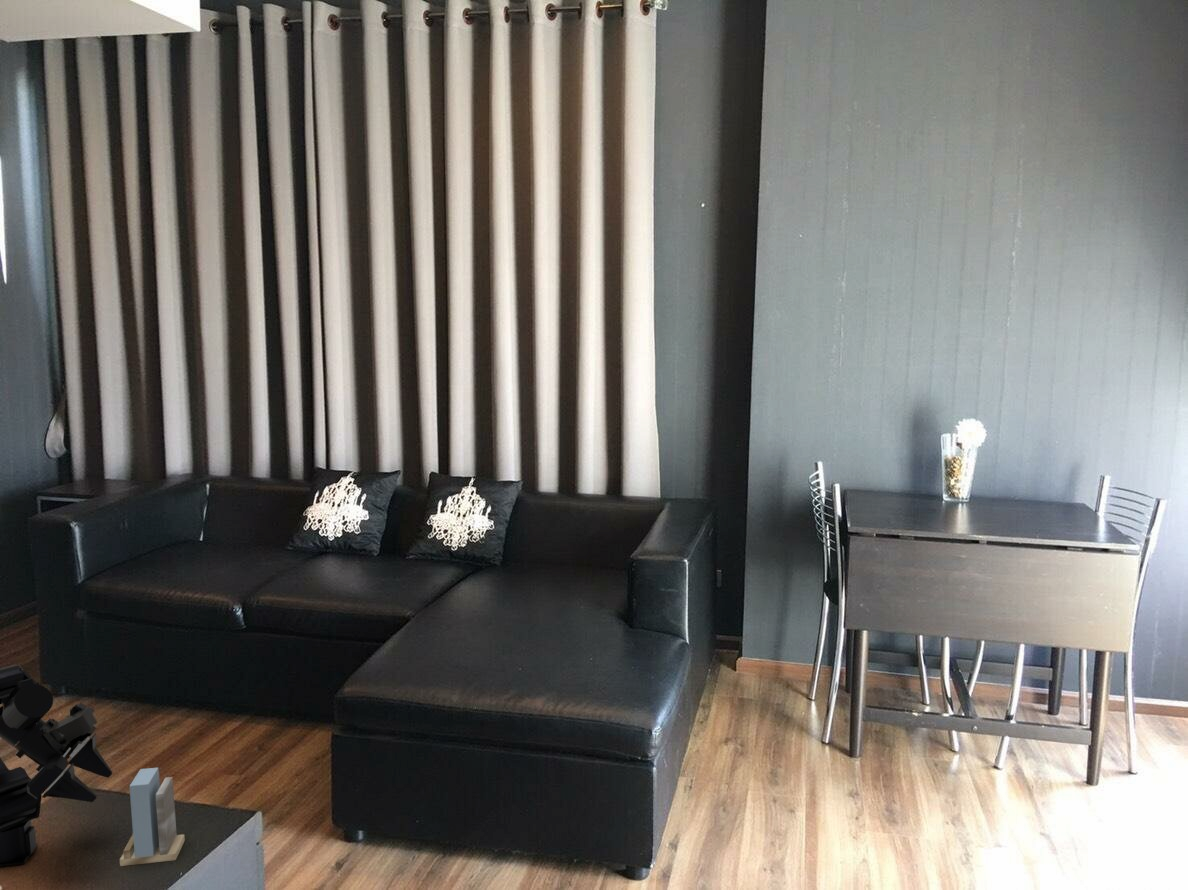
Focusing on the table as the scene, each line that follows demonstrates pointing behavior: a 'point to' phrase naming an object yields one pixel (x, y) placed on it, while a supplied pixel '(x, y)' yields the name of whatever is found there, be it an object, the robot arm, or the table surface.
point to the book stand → (160, 830)
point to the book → (145, 812)
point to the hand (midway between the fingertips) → (103, 787)
